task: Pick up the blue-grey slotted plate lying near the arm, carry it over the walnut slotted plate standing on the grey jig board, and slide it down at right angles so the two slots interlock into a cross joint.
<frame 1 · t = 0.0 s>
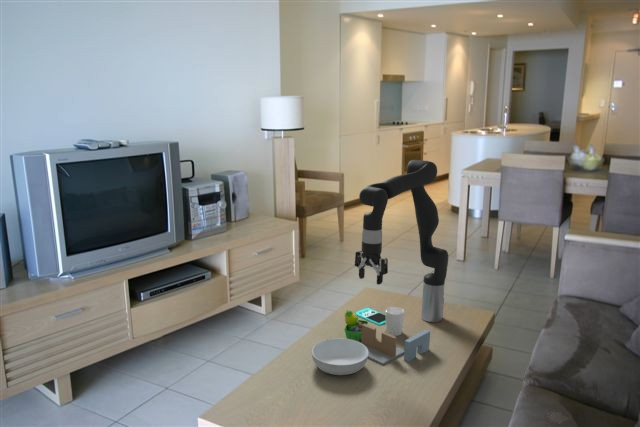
hand: (370, 281, 199), 29 cm above the table, tool pointing down, fingers open, 8 cm apart
white cup: (393, 332, 222), on the table
fruit basket: (354, 336, 218), on the table
jig: (378, 351, 205), on the table
slotted plate: (416, 354, 203), on the table
serving bowl: (339, 368, 193), on the table
handheld game console: (373, 318, 237), on the table
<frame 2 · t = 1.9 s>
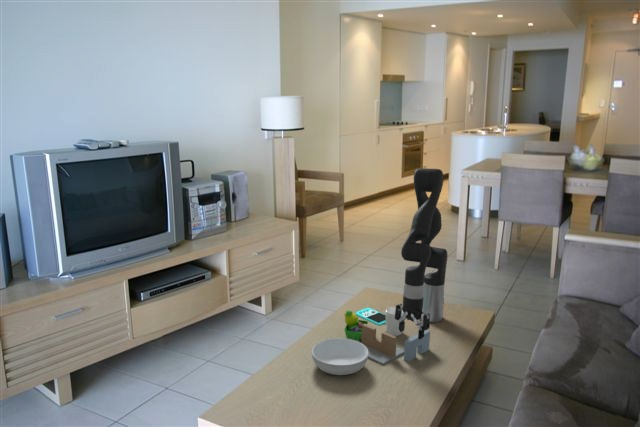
hand: (410, 334, 198), 10 cm above the table, tool pointing down, fingers open, 8 cm apart
nothing on the table moved.
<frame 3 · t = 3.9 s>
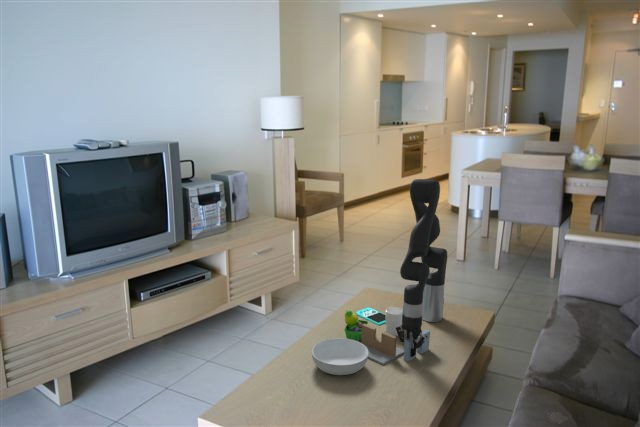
hand: (409, 354, 200), 2 cm above the table, tool pointing down, fingers closed on slotted plate, 2 cm apart
slotted plate: (416, 354, 203), on the table, touching gripper
everything else where it was.
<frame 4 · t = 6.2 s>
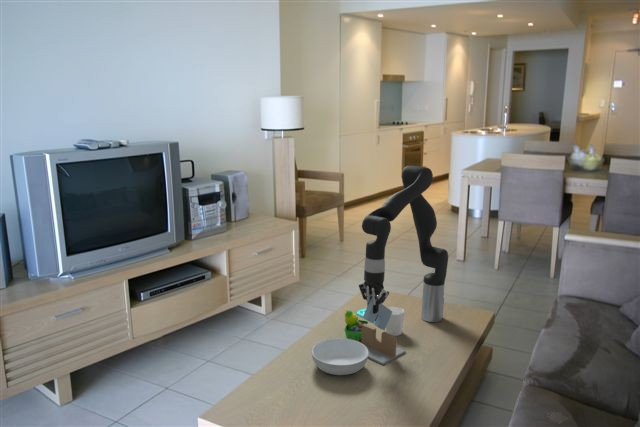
hand: (372, 311, 198), 18 cm above the table, tool pointing down, fingers closed on slotted plate
slotted plate: (373, 324, 200), point 13 cm above the table, tilted 36°, touching gripper
everything else where it was.
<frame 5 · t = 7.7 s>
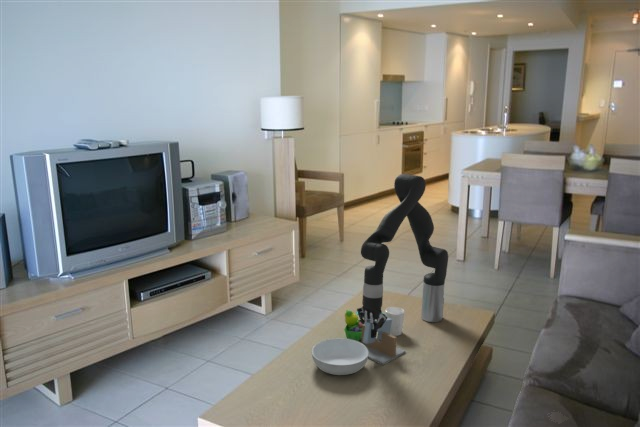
hand: (370, 336, 200), 8 cm above the table, tool pointing down, fingers closed on slotted plate, 2 cm apart
slotted plate: (376, 340, 203), point 5 cm above the table, tilted 11°, touching gripper, jig
everything else where it was.
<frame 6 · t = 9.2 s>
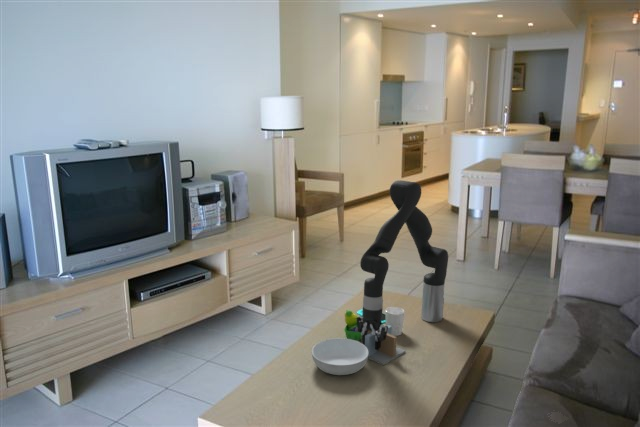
hand: (371, 346, 201), 4 cm above the table, tool pointing down, fingers open, 5 cm apart
slotted plate: (377, 349, 205), point 1 cm above the table, touching jig
everything else where it was.
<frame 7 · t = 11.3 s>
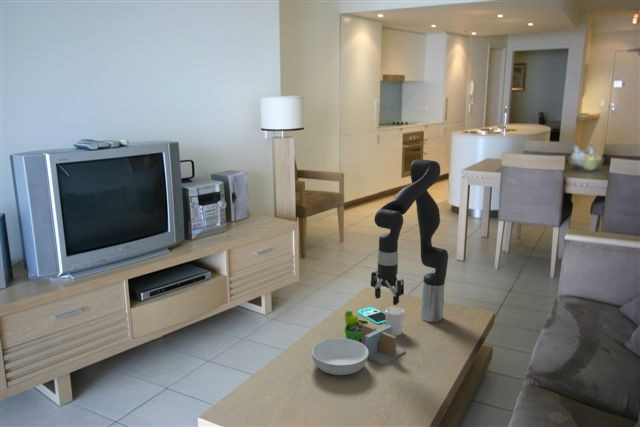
hand: (386, 301, 201), 21 cm above the table, tool pointing down, fingers open, 8 cm apart
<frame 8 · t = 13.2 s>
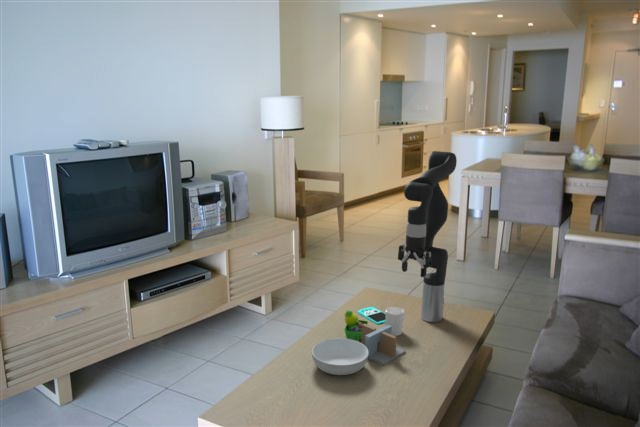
hand: (413, 274, 205), 30 cm above the table, tool pointing down, fingers open, 8 cm apart
at the end: slotted plate 0.1 cm off-centre on the jig, point 0.8 cm above the jig's base; slotted plate tilted 0°; the gripper is holding nothing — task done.
